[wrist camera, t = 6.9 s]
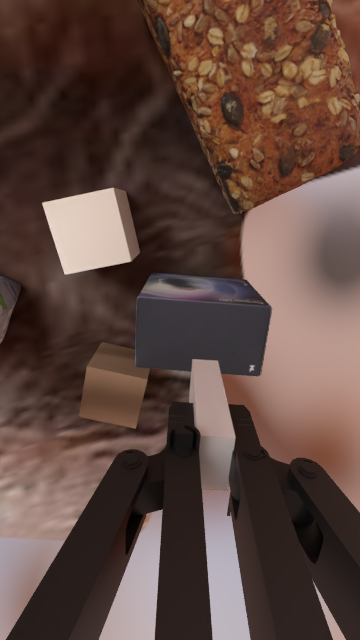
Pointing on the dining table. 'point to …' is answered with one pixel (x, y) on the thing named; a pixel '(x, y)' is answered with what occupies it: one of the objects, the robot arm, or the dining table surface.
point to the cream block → (92, 230)
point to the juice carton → (7, 302)
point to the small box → (201, 324)
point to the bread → (260, 89)
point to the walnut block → (113, 386)
